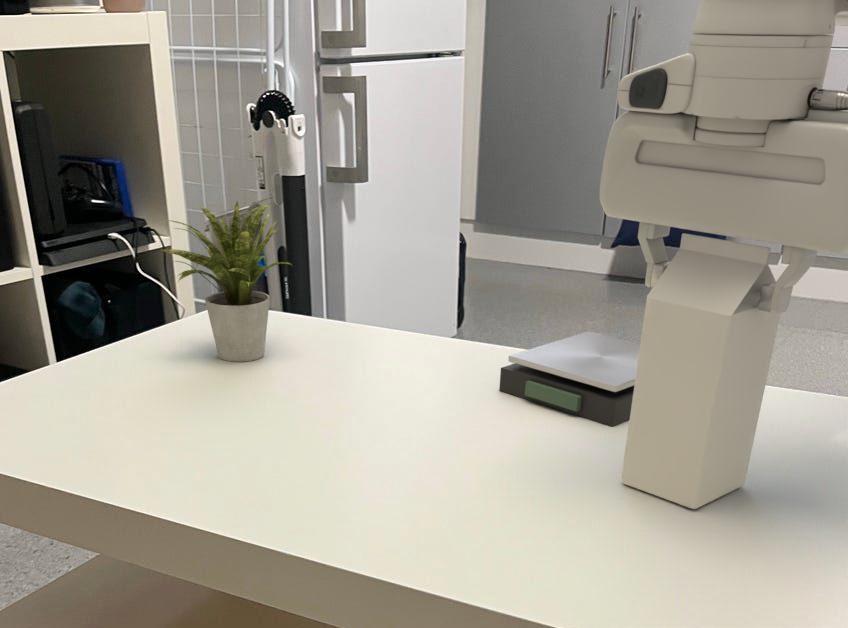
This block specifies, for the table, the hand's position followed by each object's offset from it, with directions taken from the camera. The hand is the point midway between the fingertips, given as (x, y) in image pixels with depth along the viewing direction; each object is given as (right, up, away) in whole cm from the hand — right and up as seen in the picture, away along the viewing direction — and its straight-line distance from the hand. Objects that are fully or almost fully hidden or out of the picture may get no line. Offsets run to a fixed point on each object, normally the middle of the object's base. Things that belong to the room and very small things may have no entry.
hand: (713, 298), depth 75 cm
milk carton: (0, -13, +8) cm, 15 cm away
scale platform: (-2, +2, +26) cm, 27 cm away
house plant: (-40, +7, +40) cm, 57 cm away
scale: (-2, 0, +28) cm, 28 cm away
